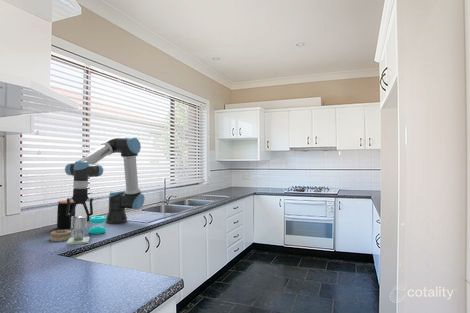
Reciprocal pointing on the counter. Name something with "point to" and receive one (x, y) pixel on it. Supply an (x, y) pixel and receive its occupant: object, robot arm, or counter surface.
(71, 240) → the board
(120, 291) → the counter surface
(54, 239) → the collar
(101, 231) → the donuts
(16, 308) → the counter surface
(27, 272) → the counter surface
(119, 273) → the counter surface
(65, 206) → the coffee jar
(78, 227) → the plug
